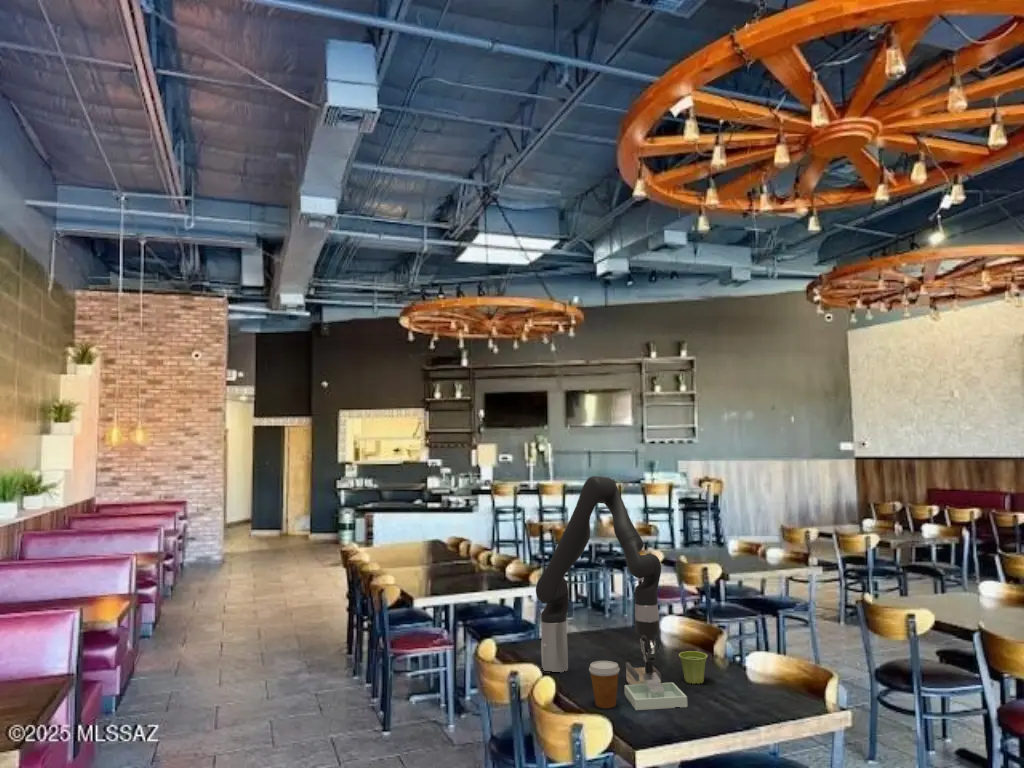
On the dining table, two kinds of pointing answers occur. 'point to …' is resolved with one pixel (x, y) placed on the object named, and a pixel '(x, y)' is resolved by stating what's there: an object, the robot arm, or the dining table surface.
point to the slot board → (637, 674)
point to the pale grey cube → (655, 691)
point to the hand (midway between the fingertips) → (649, 673)
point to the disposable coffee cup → (604, 683)
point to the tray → (642, 702)
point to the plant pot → (693, 666)
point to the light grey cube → (651, 679)
